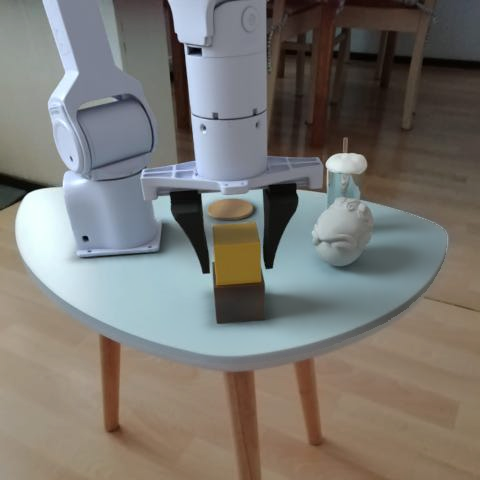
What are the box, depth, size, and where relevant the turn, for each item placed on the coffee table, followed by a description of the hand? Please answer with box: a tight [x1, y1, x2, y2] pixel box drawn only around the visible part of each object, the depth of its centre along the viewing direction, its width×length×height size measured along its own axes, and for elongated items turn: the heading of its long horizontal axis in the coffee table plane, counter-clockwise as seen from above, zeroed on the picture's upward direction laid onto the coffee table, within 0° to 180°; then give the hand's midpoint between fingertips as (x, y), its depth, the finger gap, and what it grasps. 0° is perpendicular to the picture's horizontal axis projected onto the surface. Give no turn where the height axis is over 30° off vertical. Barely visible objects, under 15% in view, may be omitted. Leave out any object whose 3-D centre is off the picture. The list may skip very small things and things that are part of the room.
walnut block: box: [211, 261, 266, 324], centre depth 47 cm, size 5×5×4 cm
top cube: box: [211, 221, 262, 286], centre depth 44 cm, size 4×4×4 cm
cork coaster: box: [207, 198, 254, 222], centre depth 65 cm, size 6×6×1 cm
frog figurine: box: [311, 197, 375, 267], centre depth 52 cm, size 6×7×7 cm
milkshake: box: [325, 137, 368, 210], centre depth 57 cm, size 4×5×10 cm
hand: (237, 265), depth 45 cm, fingers open, 5 cm apart
